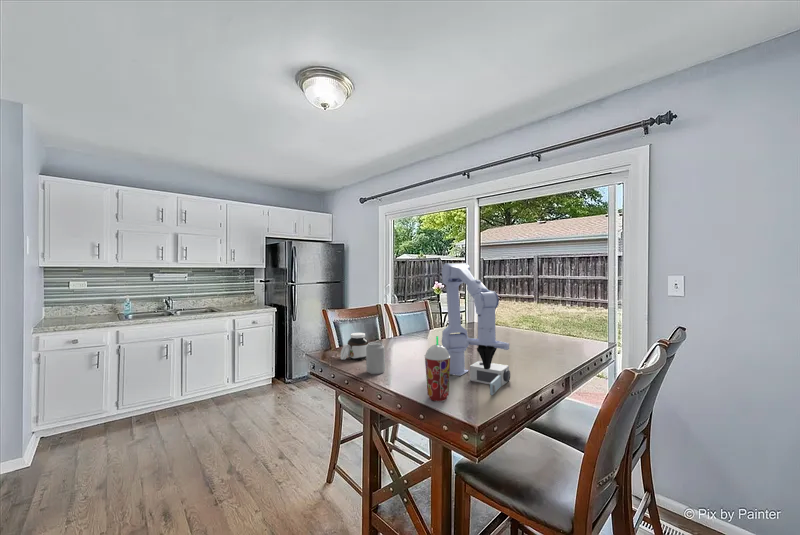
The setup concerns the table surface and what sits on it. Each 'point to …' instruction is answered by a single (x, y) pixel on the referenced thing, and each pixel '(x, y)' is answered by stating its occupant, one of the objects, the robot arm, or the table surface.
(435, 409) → the table surface
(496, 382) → the side door
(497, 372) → the camera body
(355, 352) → the spread jar
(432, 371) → the smoothie
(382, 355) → the can
